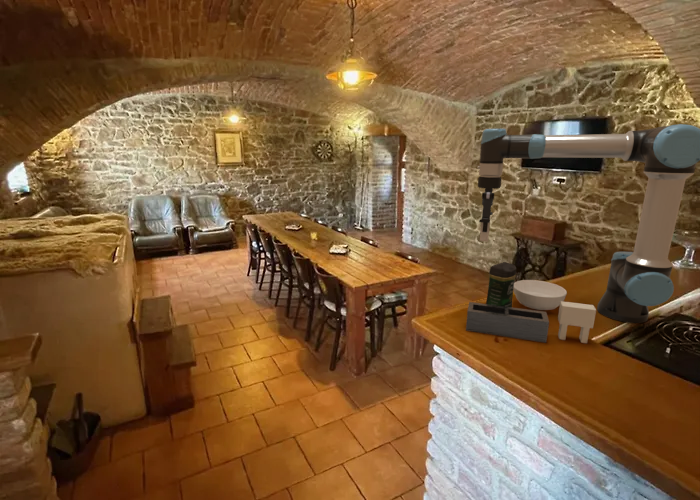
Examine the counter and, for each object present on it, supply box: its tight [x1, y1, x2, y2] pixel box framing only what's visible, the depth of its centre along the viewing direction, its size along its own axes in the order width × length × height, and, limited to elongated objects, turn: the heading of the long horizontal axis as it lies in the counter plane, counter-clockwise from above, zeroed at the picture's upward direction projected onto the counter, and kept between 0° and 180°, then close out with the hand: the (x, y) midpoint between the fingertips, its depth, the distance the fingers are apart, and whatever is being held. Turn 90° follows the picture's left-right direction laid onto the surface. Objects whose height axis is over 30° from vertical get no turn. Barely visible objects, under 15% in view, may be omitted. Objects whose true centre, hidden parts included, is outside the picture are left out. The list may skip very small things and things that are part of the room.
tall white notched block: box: [557, 301, 597, 344], centre depth 118 cm, size 9×4×12 cm, turn 69°
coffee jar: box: [485, 261, 517, 308], centre depth 137 cm, size 10×8×19 cm
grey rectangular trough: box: [465, 301, 550, 344], centre depth 125 cm, size 24×8×7 cm, turn 69°
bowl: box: [513, 279, 568, 311], centre depth 144 cm, size 18×18×7 cm
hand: (484, 236), depth 135 cm, fingers open, 13 cm apart
